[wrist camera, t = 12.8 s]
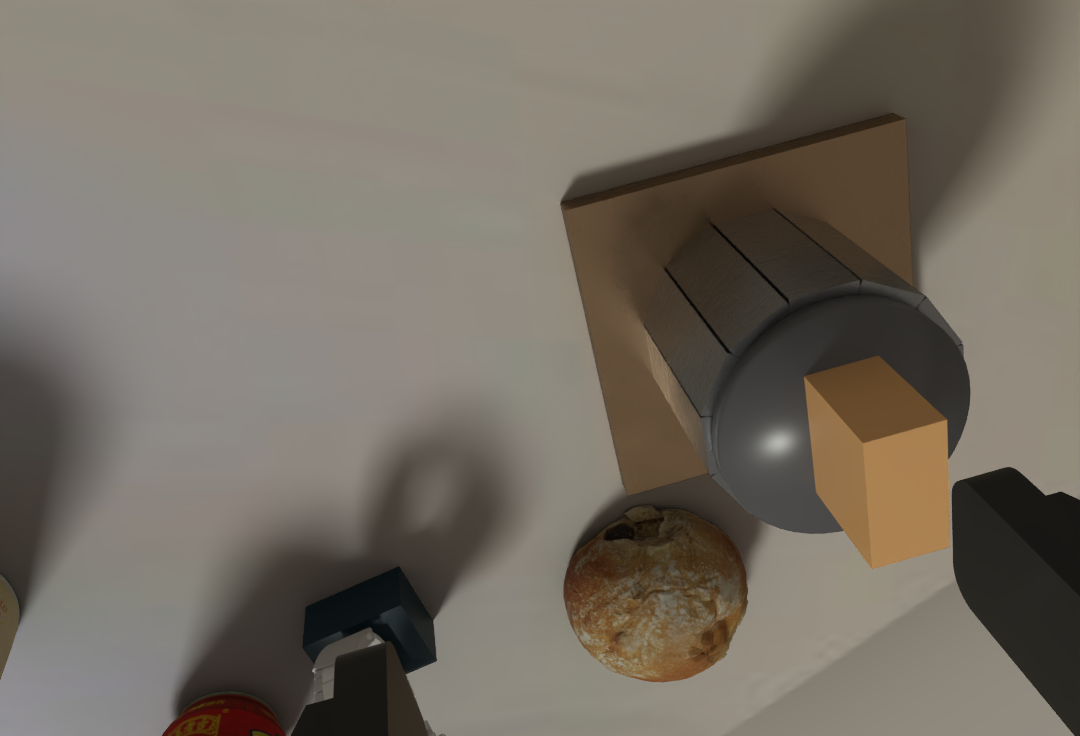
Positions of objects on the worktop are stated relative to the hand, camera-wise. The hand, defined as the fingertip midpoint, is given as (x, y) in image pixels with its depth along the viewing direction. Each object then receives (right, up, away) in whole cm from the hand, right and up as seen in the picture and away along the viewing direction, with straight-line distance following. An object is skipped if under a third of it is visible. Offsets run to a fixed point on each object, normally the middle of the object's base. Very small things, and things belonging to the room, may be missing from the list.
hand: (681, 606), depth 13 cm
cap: (+10, +2, +27) cm, 29 cm away
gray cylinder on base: (+8, +6, +35) cm, 36 cm away
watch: (-11, -10, +40) cm, 43 cm away
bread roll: (+4, -8, +42) cm, 43 cm away
